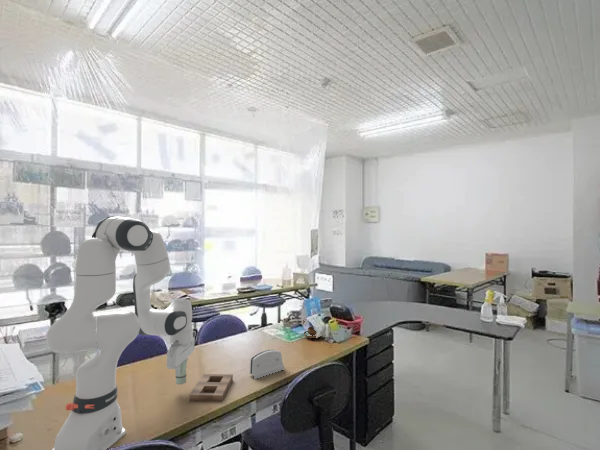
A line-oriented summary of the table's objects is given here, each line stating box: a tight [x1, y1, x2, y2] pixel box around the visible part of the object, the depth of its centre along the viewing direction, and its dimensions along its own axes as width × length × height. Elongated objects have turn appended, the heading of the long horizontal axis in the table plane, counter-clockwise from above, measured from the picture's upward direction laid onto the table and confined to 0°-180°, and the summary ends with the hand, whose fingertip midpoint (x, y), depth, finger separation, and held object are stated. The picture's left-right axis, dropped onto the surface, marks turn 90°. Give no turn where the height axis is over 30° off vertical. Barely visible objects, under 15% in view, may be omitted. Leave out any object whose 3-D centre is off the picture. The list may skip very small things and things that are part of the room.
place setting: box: [302, 319, 317, 339], centre depth 212 cm, size 18×20×6 cm
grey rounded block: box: [248, 349, 285, 380], centre depth 156 cm, size 17×5×10 cm, turn 127°
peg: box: [175, 359, 187, 385], centre depth 136 cm, size 4×4×9 cm
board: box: [188, 373, 234, 402], centre depth 139 cm, size 18×13×2 cm
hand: (181, 371), depth 136 cm, fingers closed on peg, 4 cm apart
